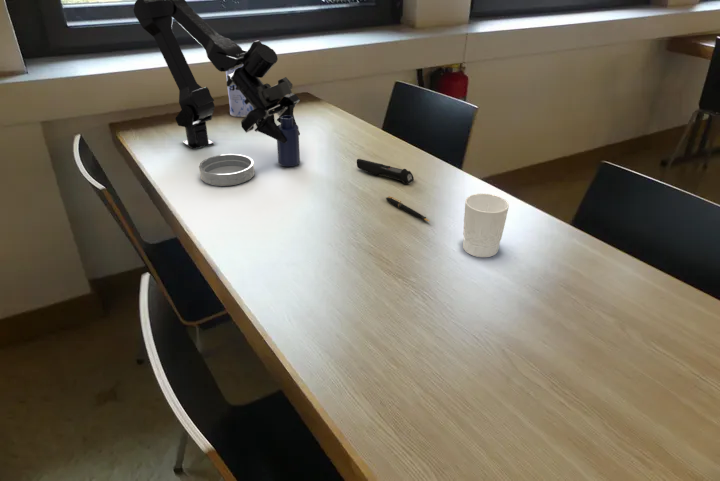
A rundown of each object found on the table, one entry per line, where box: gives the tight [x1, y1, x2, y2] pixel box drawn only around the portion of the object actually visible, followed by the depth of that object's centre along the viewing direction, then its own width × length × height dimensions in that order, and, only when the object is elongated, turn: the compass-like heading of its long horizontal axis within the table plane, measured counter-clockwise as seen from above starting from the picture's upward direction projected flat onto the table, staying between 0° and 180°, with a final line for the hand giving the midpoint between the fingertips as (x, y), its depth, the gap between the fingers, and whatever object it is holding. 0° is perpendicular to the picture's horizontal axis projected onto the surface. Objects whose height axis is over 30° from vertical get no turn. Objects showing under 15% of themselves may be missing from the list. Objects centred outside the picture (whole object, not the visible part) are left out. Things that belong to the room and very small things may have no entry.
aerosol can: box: [225, 64, 254, 118], centre depth 170 cm, size 8×8×20 cm
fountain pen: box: [385, 195, 430, 222], centre depth 116 cm, size 14×1×2 cm, turn 38°
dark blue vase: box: [276, 115, 301, 167], centre depth 135 cm, size 6×6×12 cm
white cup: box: [462, 193, 510, 258], centre depth 101 cm, size 8×8×10 cm
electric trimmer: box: [356, 158, 415, 185], centre depth 132 cm, size 4×16×3 cm, turn 57°
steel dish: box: [198, 153, 256, 187], centre depth 131 cm, size 13×13×3 cm
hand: (292, 138), depth 135 cm, fingers closed on dark blue vase, 5 cm apart
